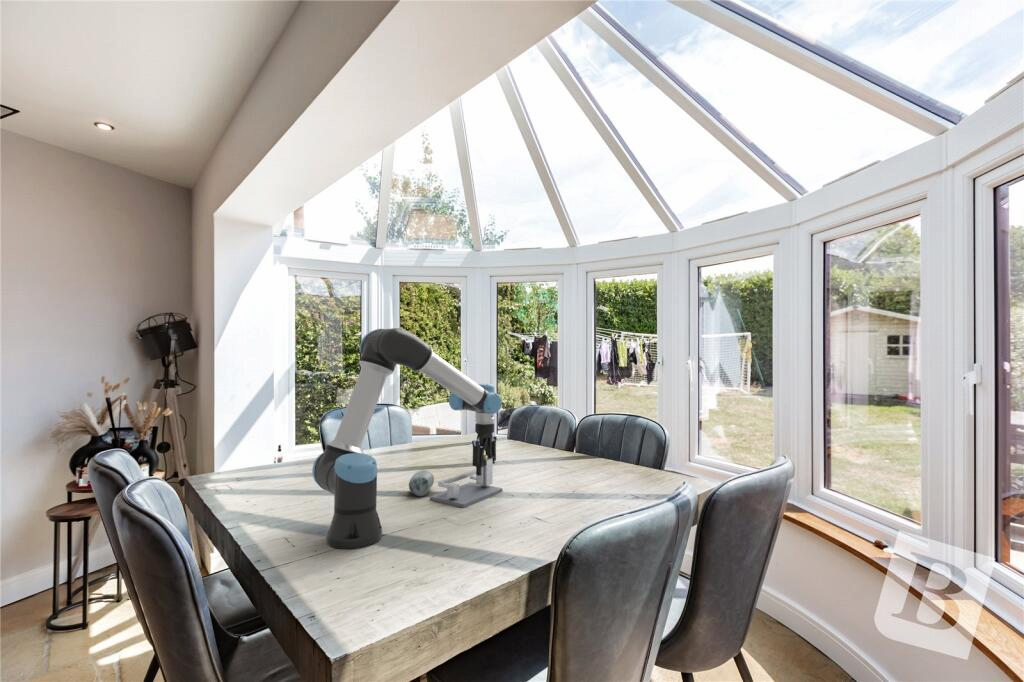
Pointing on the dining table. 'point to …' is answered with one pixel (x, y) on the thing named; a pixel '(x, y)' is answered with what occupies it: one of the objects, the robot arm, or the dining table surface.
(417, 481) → the grey rounded oval lump
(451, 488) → the dividers frame
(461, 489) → the flange plate
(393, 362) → the robot arm
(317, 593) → the dining table surface
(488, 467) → the post
